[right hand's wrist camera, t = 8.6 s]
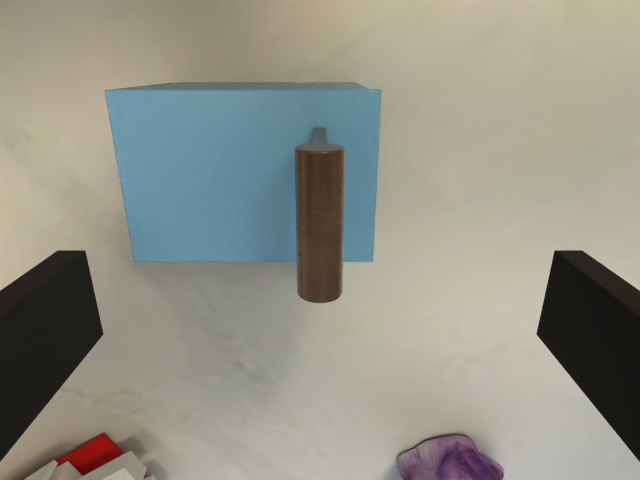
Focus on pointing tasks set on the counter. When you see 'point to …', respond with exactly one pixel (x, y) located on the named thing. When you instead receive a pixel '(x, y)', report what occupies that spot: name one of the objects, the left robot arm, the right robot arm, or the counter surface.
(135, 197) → the lid
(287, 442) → the counter surface
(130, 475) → the toy
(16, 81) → the counter surface
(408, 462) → the figurine
